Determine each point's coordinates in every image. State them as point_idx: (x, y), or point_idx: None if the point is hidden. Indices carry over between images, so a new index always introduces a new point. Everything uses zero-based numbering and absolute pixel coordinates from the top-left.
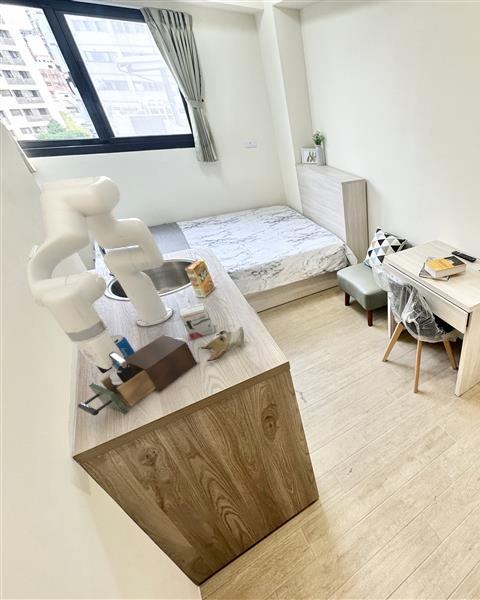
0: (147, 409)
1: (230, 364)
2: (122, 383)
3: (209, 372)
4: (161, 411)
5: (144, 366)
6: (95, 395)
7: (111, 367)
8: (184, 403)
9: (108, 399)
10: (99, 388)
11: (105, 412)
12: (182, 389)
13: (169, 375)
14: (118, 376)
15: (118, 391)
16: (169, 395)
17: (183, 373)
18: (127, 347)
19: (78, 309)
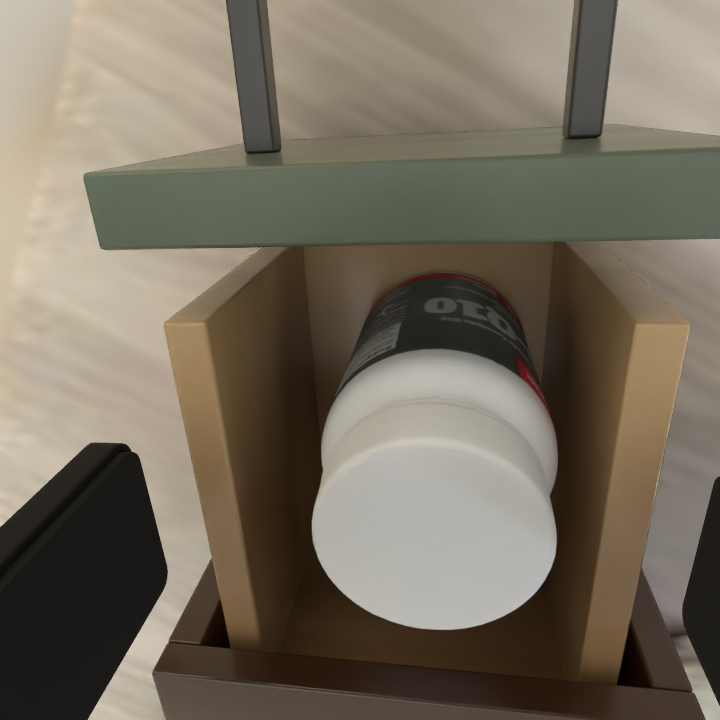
0: (179, 273)
1: (113, 704)
2: (332, 409)
3: (157, 637)
4: (63, 304)
5: (229, 704)
6: (596, 103)
7: (694, 607)
8: (9, 414)
9: (319, 150)
10: (458, 198)
11: (513, 72)
12: (156, 493)
13: None
14: (10, 548)
15: (442, 299)
16: (179, 427)
17: None
18: None
19: None
